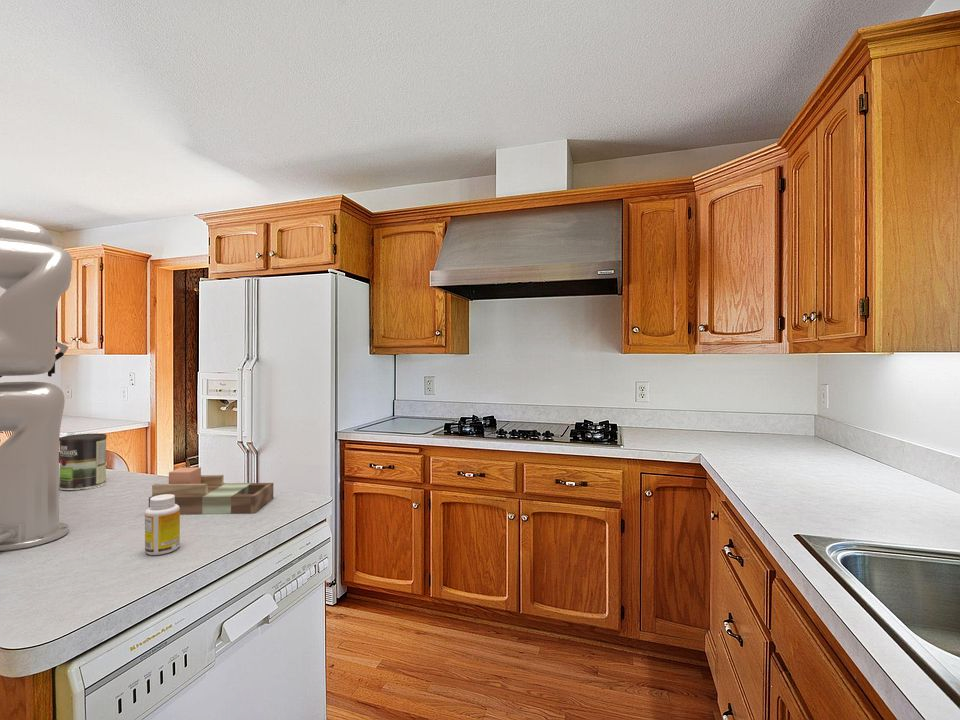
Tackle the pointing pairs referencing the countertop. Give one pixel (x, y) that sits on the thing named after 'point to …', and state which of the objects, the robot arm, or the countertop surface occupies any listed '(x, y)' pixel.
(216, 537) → the countertop surface
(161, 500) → the supplement bottle
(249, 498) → the brown rectangular tray
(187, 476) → the block
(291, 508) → the countertop surface
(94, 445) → the coffee can
